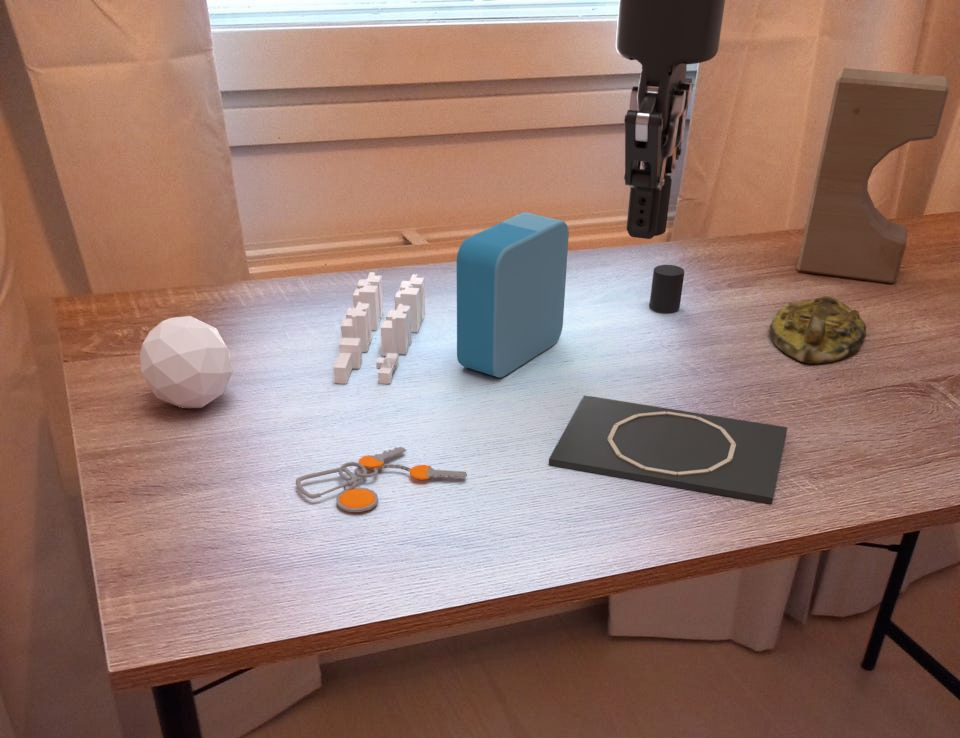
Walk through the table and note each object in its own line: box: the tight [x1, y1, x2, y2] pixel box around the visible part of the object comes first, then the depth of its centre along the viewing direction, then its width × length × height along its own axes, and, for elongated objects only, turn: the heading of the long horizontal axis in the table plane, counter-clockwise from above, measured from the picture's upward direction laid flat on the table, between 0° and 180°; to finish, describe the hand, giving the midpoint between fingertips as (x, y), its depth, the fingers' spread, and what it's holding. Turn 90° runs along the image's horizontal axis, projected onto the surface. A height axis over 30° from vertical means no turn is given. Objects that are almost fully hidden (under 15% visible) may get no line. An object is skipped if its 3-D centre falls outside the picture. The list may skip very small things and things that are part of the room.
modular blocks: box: [332, 271, 426, 395], centre depth 99 cm, size 20×7×4 cm, turn 176°
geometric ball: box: [138, 315, 234, 409], centre depth 89 cm, size 8×8×8 cm
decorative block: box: [796, 67, 950, 285], centre depth 112 cm, size 11×6×20 cm, turn 69°
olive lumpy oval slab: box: [769, 295, 867, 365], centre depth 103 cm, size 9×5×15 cm
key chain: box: [295, 446, 468, 513], centre depth 81 cm, size 13×7×1 cm, turn 119°
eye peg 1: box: [625, 175, 673, 237], centre depth 82 cm, size 3×3×4 cm
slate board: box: [548, 394, 788, 505], centre depth 86 cm, size 18×12×1 cm, turn 72°
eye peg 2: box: [648, 264, 686, 314], centre depth 108 cm, size 3×3×4 cm
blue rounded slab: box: [456, 211, 570, 379], centre depth 96 cm, size 12×4×12 cm, turn 145°
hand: (646, 228), depth 83 cm, fingers closed on eye peg 1, 3 cm apart
